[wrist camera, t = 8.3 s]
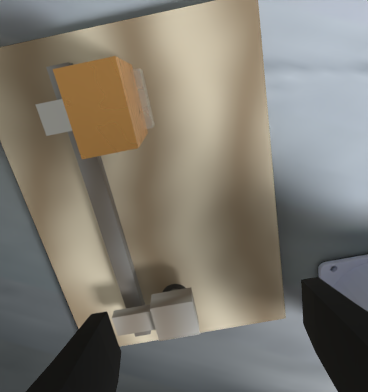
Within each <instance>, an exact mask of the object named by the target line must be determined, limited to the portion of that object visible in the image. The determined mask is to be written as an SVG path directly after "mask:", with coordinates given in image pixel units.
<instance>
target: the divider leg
mask: <svg viewBox="0 0 368 392" xmlns="http://www.w3.org/2000/svg"><path fill="white" fill-rule="evenodd" d="M53 72H54V75H55V78H56V81H57V84H58V88H59V91H60V94H61V97H62V99H60V100H55V101H50V102H45V103H40V104H36V108H37V111H38V113H39V116H40V119H41V122H42V125H43V127H44V130H45V133H46V136H49V135H54V134H59V133H64V132H69V131H73V134H74V137H75V140H76V143H77V146H78V149H79V152H80V155H81V158H82V159H87V158H92V157H97V156H102V155H107V154H112V153H117V152H122V151H127V150H132V149H137V148H139V146H140V145H141V143H142V142H143V140H144V138H145V137H146V135H147V134H148V131H147V129H150V128H153V127H154V125H155V124H154V119H153V115H152V110H151V106H150V101H149V97H148V92H147V88H146V84H145V79H144V75H143V70H142V69H140V68H138V69H133V67H132V65H131V64H129V63H127V62H126V61H124V60H122V59H120V58H118V57H116V56H112V57H108V58H103V59H98V60H94V61H89V62H84V63H79V64H75V65H70V66H65V67H61V68H56V69H53Z"/></svg>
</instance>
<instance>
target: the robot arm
mask: <svg viewBox="0 0 368 392" xmlns="http://www.w3.org/2000/svg"><path fill="white" fill-rule="evenodd" d="M333 266H334V268H332V269H331V267H333ZM318 274H319V277H316V278H310V279H304V280H301V284H302V304H303V324H304V326H305V329H306V331H307V333H308V336H309V338H310V341H311V343H312V345H313V347H314V350H315V352H316V354H317V355H318V357H319V359H320V361H321V363H322V364H323V366H324V368H325V370H326V371H327V373H328V375H329V377H330V379H331V380H332V382H333V384H334V386H335V387H336V389H337V391H338V392H368V254H367V255H362V256H356V257H350V258H345V259H339V260H333V261H328V262H323V263H321V264H320V265H319V268H318ZM120 359H121V350H120V347H119V344H118V342H117V339H116V336H115V333H114V330H113V327H112V324H111V321H110V318H109V315H108V313H107V311H106V312H100V313H94V314H91V315H90V316H89V317H88V318H87V320H86V321H85V322H84V323H83V325H82V326H81V327H80V328H79V329H78V331H77V332H76V333H75V335H74V336H73V337H72V338H71V339H70V341H69V342H68V343H67V344H66V346H65V347H64V348H63V349H62V350H61V352H60V353H59V354H58V355H57V357H56V358H55V359H54V360H53V361H52V363H51V364H50V365H49V366H48V367H47V368H46V369H45V371H44V372H43V373H42V374H41V375H40V376H39V377H38V378H37V380H36V381H35V382H34V383H33V384H32V385H31V386H30V387H29V389H28V390H27V391H26V392H116V388H117V384H118V377H119V369H120Z"/></svg>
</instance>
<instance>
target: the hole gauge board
mask: <svg viewBox="0 0 368 392" xmlns="http://www.w3.org/2000/svg"><path fill="white" fill-rule="evenodd" d="M112 56H116V57H118V58H120V59H122V60H124V61H126V62H127V63H129V64H131V65H132V67H133V69H138V68H140V69H142V70H143V75H144V79H145V84H146V88H147V92H148V97H149V101H150V106H151V110H152V115H153V119H154V124H155V125H154V127H153V128H150V129H147V131H148V134H147V135H146V137H145V138H144V140H143V142H142V143H141V145H140V146H139V148H137V149H132V150H127V151H122V152H117V153H112V154H107V155H102V156H97V157H92V158H87V159H82V158H81V155H80V152H79V149H78V146H77V143H76V140H75V137H74V134H73V131H69V132H64V133H59V134H54V135H49V136H46V133H45V130H44V127H43V125H42V122H41V119H40V116H39V113H38V111H37V108H36V104H40V103H45V102H50V101H55V100H60V99H62V97H61V94H60V91H59V88H58V84H57V81H56V78H55V75H54V72H53V69H56V68H61V67H65V66H70V65H75V64H79V63H84V62H89V61H94V60H98V59H103V58H108V57H112ZM0 141H1V144H2V146H3V149H4V151H5V153H6V156H7V158H8V161H9V163H10V165H11V168H12V170H13V173H14V175H15V177H16V180H17V182H18V185H19V187H20V189H21V192H22V194H23V197H24V199H25V201H26V204H27V206H28V209H29V211H30V213H31V216H32V218H33V221H34V223H35V225H36V228H37V230H38V233H39V235H40V237H41V240H42V242H43V245H44V247H45V250H46V252H47V254H48V257H49V259H50V262H51V264H52V266H53V269H54V271H55V274H56V276H57V278H58V281H59V283H60V286H61V288H62V290H63V293H64V295H65V298H66V300H67V302H68V305H69V307H70V310H71V312H72V314H73V317H74V319H75V322H76V324H77V326H78V329H79V328H80V327H81V326H82V325H83V323H84V322H85V321H86V320H87V318H88V317H89V316H90V315H91V314H94V313H100V312H106V311H107V313H108V315H109V318H110V321H111V324H112V327H113V330H114V333H115V336H116V339H117V342H118V344H119V346H125V345H131V344H137V343H143V342H149V341H154V340H159V341H163V340H169V339H175V338H180V337H186V336H192V335H198V334H200V333H201V332H207V331H213V330H219V329H225V328H231V327H237V326H243V325H249V324H254V323H260V322H266V321H272V320H278V319H284V318H286V316H285V304H284V293H283V282H282V270H281V259H280V247H279V236H278V224H277V213H276V201H275V190H274V178H273V167H272V156H271V144H270V133H269V121H268V110H267V98H266V87H265V75H264V64H263V52H262V41H261V29H260V18H259V7H258V0H215V1H210V2H206V3H201V4H196V5H192V6H187V7H183V8H178V9H173V10H169V11H164V12H160V13H155V14H150V15H146V16H141V17H137V18H132V19H127V20H123V21H118V22H114V23H109V24H105V25H100V26H95V27H91V28H86V29H82V30H77V31H72V32H68V33H63V34H59V35H54V36H49V37H45V38H40V39H36V40H31V41H26V42H22V43H17V44H13V45H8V46H4V47H0Z"/></svg>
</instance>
